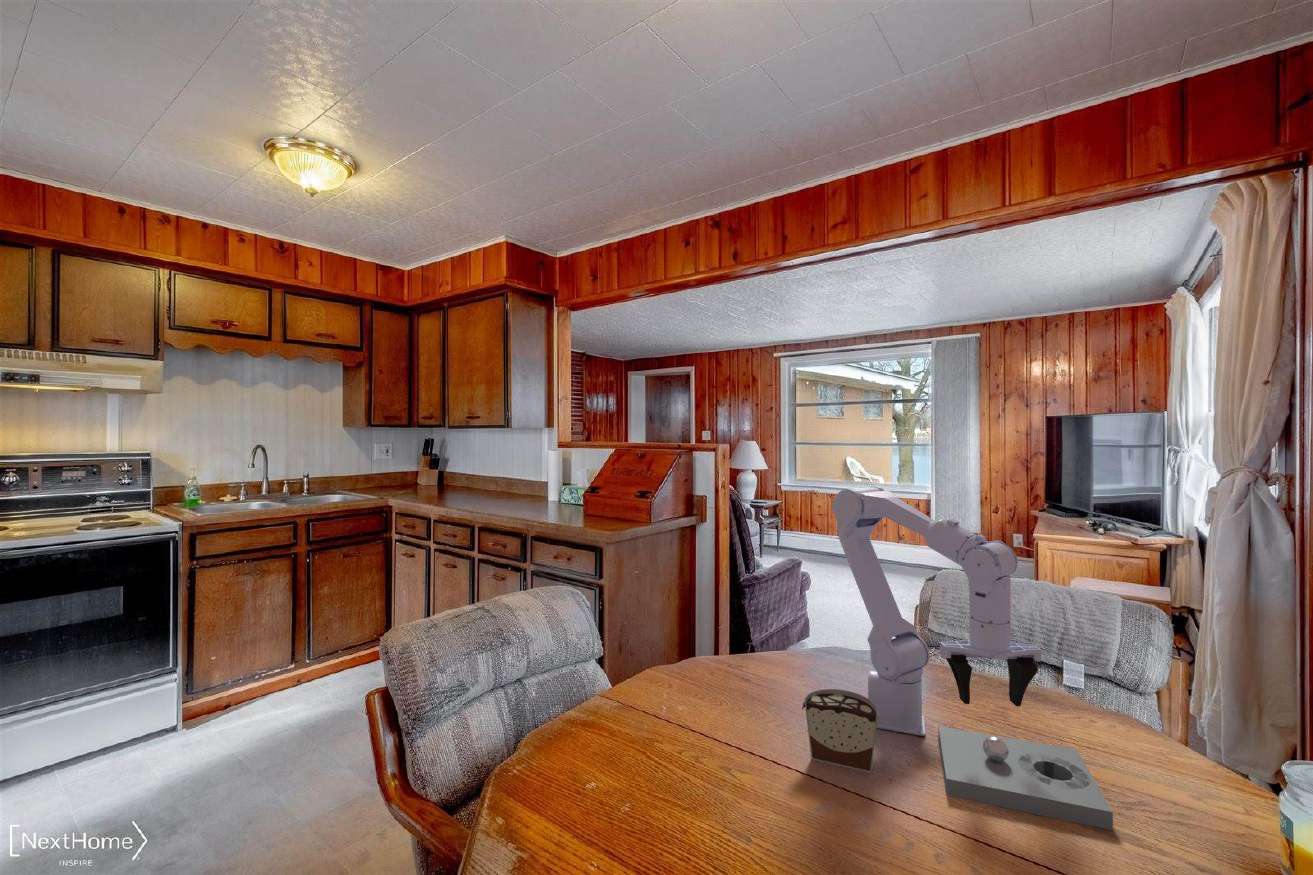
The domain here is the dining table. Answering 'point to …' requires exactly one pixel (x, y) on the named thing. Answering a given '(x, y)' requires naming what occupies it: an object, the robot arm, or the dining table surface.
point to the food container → (841, 728)
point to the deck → (1023, 778)
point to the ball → (995, 749)
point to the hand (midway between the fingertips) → (989, 702)
